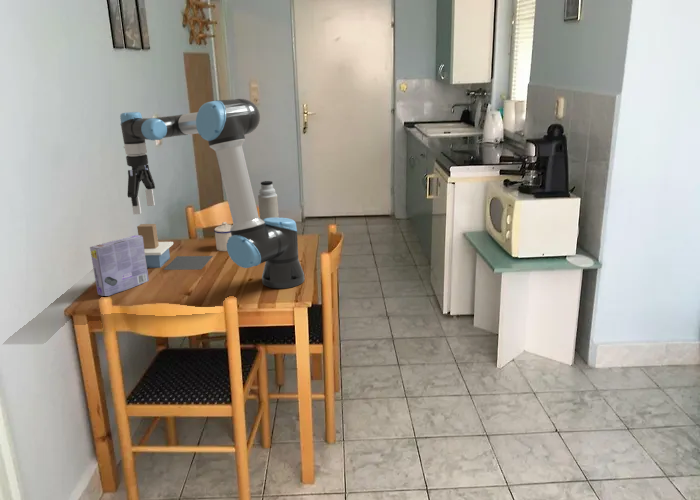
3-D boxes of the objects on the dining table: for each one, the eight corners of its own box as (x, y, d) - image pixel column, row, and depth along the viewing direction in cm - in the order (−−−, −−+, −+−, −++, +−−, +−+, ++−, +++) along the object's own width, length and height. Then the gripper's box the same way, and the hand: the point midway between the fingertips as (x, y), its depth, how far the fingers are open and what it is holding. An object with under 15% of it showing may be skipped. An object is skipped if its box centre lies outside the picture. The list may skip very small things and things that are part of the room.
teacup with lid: (230, 253, 238) (227, 226, 235) (211, 251, 242) (209, 224, 238) (245, 244, 249) (243, 218, 245) (227, 242, 252) (225, 217, 249)
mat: (201, 270, 219) (201, 269, 219) (163, 270, 220) (163, 269, 220) (213, 256, 234) (213, 255, 234) (177, 257, 235) (177, 256, 235)
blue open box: (160, 268, 222) (158, 253, 220) (132, 268, 223) (130, 254, 221) (170, 259, 233) (168, 245, 231) (143, 259, 233) (141, 245, 231)
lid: (160, 255, 219) (157, 229, 216) (125, 255, 220) (121, 230, 216) (173, 244, 232) (170, 220, 229) (139, 244, 233) (136, 220, 230)
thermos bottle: (273, 242, 252) (268, 179, 243) (284, 245, 246) (280, 181, 237) (258, 246, 246) (253, 182, 238) (269, 249, 241) (264, 184, 232)
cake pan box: (144, 278, 212) (137, 232, 207) (152, 280, 210) (145, 234, 204) (96, 295, 197) (87, 246, 192) (105, 298, 195) (96, 249, 189)
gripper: (139, 150, 226) (147, 202, 233) (111, 160, 203) (121, 218, 209) (158, 149, 226) (165, 202, 232) (132, 159, 202) (141, 217, 209)
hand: (144, 209), depth 221 cm, fingers open, 13 cm apart
